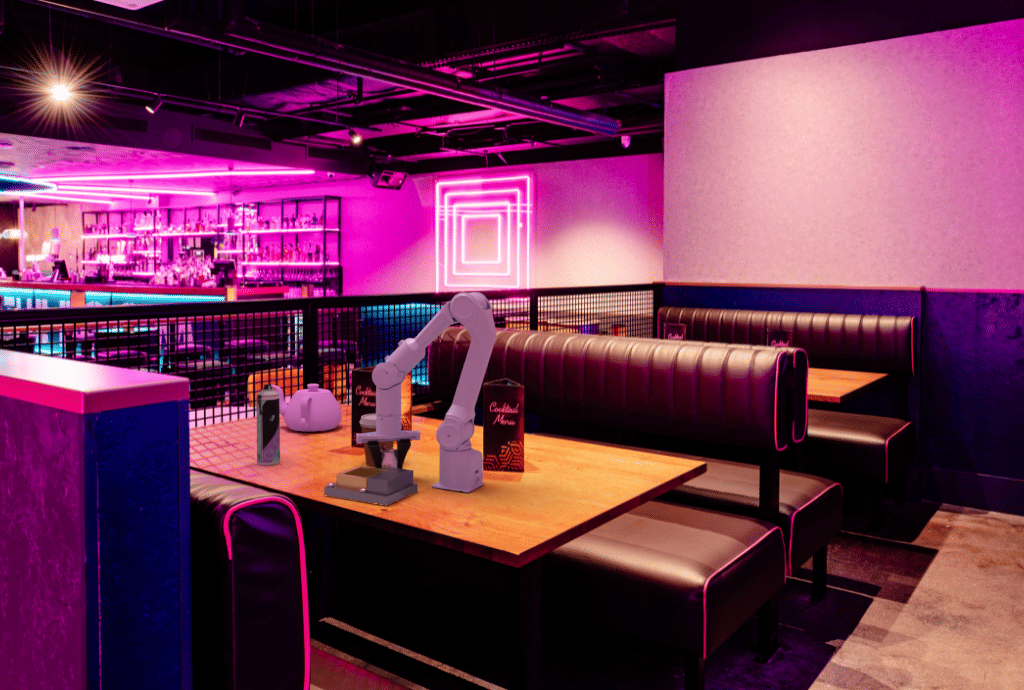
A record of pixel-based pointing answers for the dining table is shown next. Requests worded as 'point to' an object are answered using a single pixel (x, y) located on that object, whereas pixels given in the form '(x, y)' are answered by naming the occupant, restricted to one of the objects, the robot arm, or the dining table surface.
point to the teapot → (310, 409)
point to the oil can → (388, 457)
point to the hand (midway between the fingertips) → (388, 472)
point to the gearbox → (372, 485)
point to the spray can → (268, 426)
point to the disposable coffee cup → (369, 426)
